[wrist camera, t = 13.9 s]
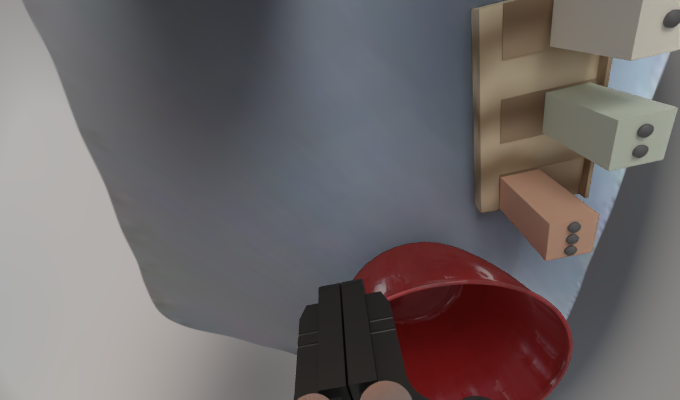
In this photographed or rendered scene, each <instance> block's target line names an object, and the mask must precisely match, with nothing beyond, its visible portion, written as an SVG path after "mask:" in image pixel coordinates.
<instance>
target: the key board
mask: <svg viewBox="0 0 680 400" xmlns="http://www.w3.org/2000/svg"><path fill="white" fill-rule="evenodd" d="M553 3H554V0H506V1H502V2H498V3H494V4H490V5H486V6H482V7H478V8H473V9H471V34H472V83H473V132H474V181H475V206H476V207H477V208H478V210H479V211H480V212H481V213H485V212H490V211H495V210H500V177H504V176H508V175H513V174H518V173H523V172H527V171H532V170H537V169H540V170H541V171H542V172H544V173H545V174H546V175H548V176H549V177H550V178H552V179H553V180H554V181H556V182H557V183H558V184H560V185H561V186H562V187H564V188H565V189H566V190H568V191H569V192H570V193H572V194H573V195H575V194H580V195H581V196H583V197H584V198H587V197H588V195H589V190H590V184H591V178H592V173H593V167H594V162H592V161H590V160H588V159H587V158H585V157H583V156H581V155H580V154H578V153H576V152H574V151H573V150H571V149H569V148H568V147H566V146H564V145H562V144H561V143H559V142H557V141H555V140H554V139H552V138H550V137H548V136H547V135H545V134H543V133H542V130H543V118H544V106H545V95H546V92H550V91H554V90H559V89H563V88H567V87H572V86H576V85H581V84H585V83H589V82H590V83H594V84H597V85H601V86H604V87H608V81H609V76H610V70H611V64H612V57H607V56H601V55H595V54H590V53H584V52H579V51H573V50H567V49H562V48H556V47H550V38H551V26H552V15H553Z"/></svg>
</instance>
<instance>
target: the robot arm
mask: <svg viewBox="0 0 680 400" xmlns="http://www.w3.org/2000/svg"><path fill="white" fill-rule="evenodd" d="M294 400H431V399H428V398H426V397H424V396H422V395H421V394H420V393H418V392H417V391H416V390H415V389H414V388H413V387H412V385H411V384H410V382H409V380H408V378H407V375H406V371H405V367H404V362H403V358H402V354H401V349H400V345H399V341H398V336H397V332H396V328H395V323H394V319H393V315H392V310H391V306H390V302H389V301H388V299H387V298H386V297H385V296H384V295H383V293H382V292H381V291H379V292H374V293H368V294H366V291H365V287H364V283H363V279H357V280H352V281H347V282H342V283H341V284H340V283H337V284H332V285H327V286H322V287H319V303H318V304H313V305H308V306H306V308H305V310H304V312H303V314H302V316H301V318H300V322H299V337H298V351H297V366H296V381H295V395H294ZM461 400H491V399H489V398H486V397H483V396H469V397H465V398H463V399H461Z"/></svg>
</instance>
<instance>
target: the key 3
mask: <svg viewBox="0 0 680 400" xmlns="http://www.w3.org/2000/svg"><path fill="white" fill-rule="evenodd" d="M500 210H501V211H502V212H503V213H504V214H505V215H506V216H507V218H508V219H509V220H510V221H511V222H512V223H513V224H514V225H515V227H516V228H517V229H518V230H519V231H520V232H521V233H522V235H523V236H524V237H525V238H526V239H527V240H528V241H529V243H530V244H531V245H532V246H533V247H534V248H535V249H536V250H537V252H538V253H539V254H540V255H541V256H542V257H543V258H544V260H545V261H548V260H553V259H558V258H563V257H568V256H573V255H578V254H584V253H589V252H592V249H593V244H594V240H595V235H596V230H597V225H598V220H599V215H600V214H598V213H597V212H596V211H594V210H593V209H592V208H590V207H589V206H588V205H586V204H585V203H584V202H582V201H581V200H580V199H578V198H577V197H576V196H574V195H573V194H572V193H570V192H569V191H568V190H566V189H565V188H564V187H562V186H561V185H560V184H558V183H557V182H556V181H554V180H553V179H552V178H550V177H549V176H548V175H546V174H545V173H544V172H542V171H541V170H540V169H537V170H532V171H527V172H523V173H518V174H513V175H508V176H504V177H500Z"/></svg>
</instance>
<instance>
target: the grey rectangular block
mask: <svg viewBox="0 0 680 400" xmlns="http://www.w3.org/2000/svg"><path fill="white" fill-rule="evenodd" d="M550 47H556V48H562V49H567V50H573V51H579V52H584V53H590V54H595V55H601V56H607V57H612V58H618V59H624V60H629V61H632V60H636V59H641V58H645V57H649V56H654V55H658V54H662V53H667V52H671V51H675V50H680V0H554V3H553V15H552V26H551V38H550Z"/></svg>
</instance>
